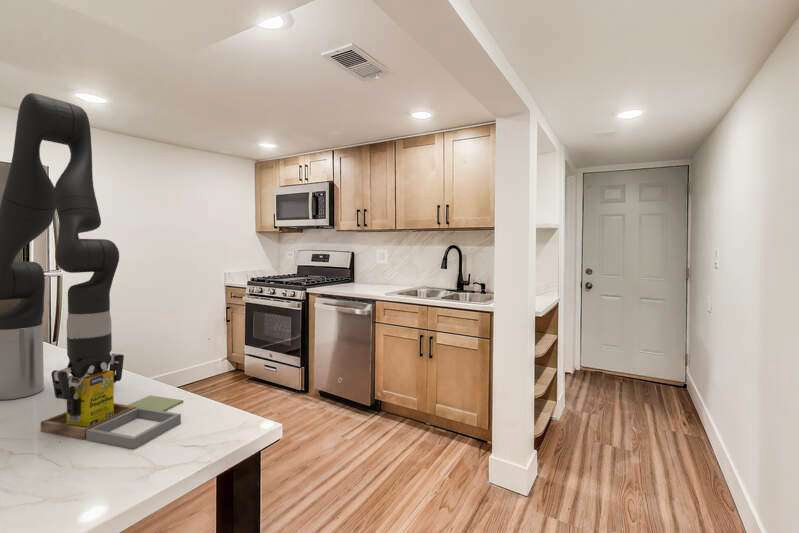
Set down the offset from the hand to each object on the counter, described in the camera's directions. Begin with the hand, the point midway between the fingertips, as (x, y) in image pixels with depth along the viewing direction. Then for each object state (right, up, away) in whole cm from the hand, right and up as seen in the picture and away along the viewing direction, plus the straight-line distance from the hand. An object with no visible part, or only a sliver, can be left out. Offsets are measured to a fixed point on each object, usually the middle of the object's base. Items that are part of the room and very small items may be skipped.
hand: (90, 408), depth 85 cm
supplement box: (0, -3, 0) cm, 3 cm away
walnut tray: (0, -3, 0) cm, 3 cm away
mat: (+7, -3, +10) cm, 12 cm away
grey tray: (+11, -4, -3) cm, 12 cm away
